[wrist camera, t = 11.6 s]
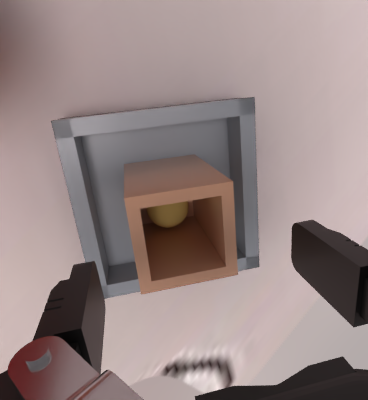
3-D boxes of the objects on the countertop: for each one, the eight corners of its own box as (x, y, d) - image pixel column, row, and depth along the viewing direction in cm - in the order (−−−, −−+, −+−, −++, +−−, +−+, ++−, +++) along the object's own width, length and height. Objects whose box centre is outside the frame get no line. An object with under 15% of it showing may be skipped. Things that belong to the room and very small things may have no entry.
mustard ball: (143, 180, 20) (145, 203, 18) (184, 176, 20) (191, 197, 18) (147, 214, 22) (150, 239, 19) (185, 209, 22) (192, 233, 20)
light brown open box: (124, 164, 20) (124, 198, 13) (194, 154, 21) (233, 181, 14) (135, 230, 22) (141, 294, 15) (200, 218, 23) (238, 274, 15)
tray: (63, 118, 20) (51, 120, 17) (234, 98, 22) (254, 97, 18) (98, 273, 24) (94, 300, 20) (241, 245, 25) (259, 266, 22)
